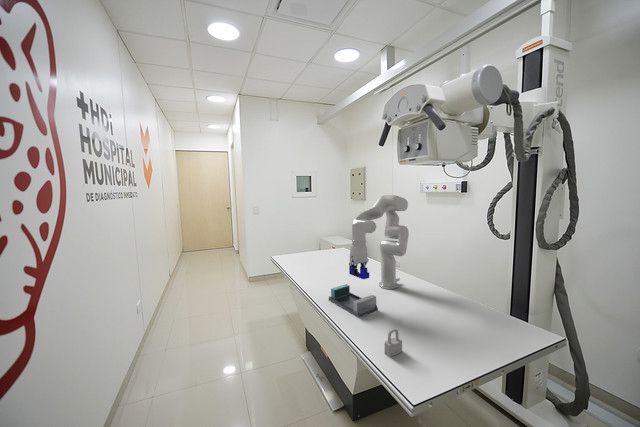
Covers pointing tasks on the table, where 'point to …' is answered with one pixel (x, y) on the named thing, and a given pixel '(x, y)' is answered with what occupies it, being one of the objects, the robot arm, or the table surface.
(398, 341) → the padlock
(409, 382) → the table surface
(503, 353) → the table surface
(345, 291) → the block
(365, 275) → the blue curved block
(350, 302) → the vise base
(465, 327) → the table surface
